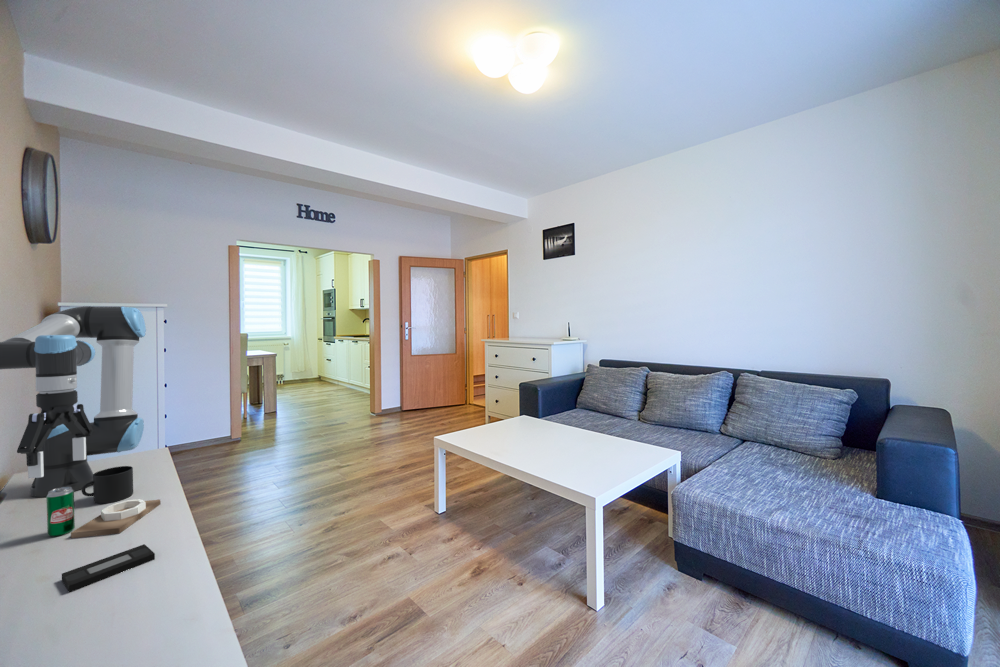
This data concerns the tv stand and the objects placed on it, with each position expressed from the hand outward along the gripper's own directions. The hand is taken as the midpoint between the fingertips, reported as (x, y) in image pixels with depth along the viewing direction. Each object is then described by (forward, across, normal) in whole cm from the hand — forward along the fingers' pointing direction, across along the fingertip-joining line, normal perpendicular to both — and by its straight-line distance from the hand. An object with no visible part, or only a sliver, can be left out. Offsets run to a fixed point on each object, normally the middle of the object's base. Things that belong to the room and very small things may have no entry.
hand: (59, 468), depth 108 cm
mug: (+18, +22, +3) cm, 29 cm away
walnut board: (+18, +5, -10) cm, 22 cm away
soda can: (+18, 0, 0) cm, 18 cm away
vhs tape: (+19, -22, -25) cm, 39 cm away
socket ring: (+16, +6, -11) cm, 21 cm away
